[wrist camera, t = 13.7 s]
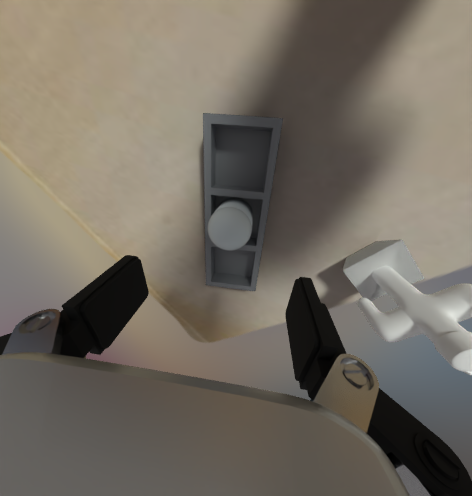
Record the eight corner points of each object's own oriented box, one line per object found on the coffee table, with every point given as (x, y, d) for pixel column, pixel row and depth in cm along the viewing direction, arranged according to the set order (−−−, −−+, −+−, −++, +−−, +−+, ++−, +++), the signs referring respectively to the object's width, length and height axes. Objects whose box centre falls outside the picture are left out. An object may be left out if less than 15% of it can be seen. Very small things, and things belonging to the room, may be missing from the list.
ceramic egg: (217, 195, 23) (201, 211, 17) (255, 199, 23) (253, 216, 16) (217, 230, 26) (202, 256, 19) (251, 234, 25) (248, 261, 19)
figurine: (325, 260, 27) (391, 360, 14) (391, 223, 23) (565, 310, 10) (348, 289, 29) (424, 400, 16) (411, 259, 25) (579, 371, 12)
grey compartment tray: (210, 119, 20) (203, 112, 17) (279, 123, 20) (282, 118, 17) (210, 272, 30) (205, 285, 27) (255, 278, 30) (255, 291, 27)
